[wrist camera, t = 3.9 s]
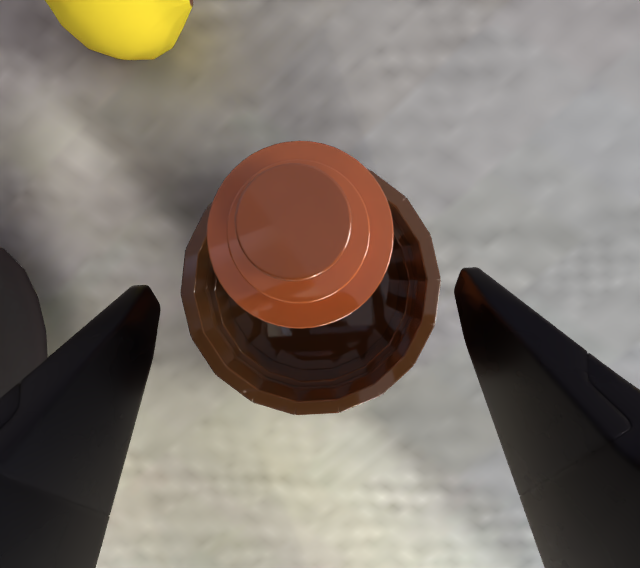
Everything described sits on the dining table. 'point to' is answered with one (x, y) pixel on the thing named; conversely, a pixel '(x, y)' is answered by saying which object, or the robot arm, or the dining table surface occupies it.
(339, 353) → the bowl
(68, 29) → the lemon
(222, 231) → the bottle
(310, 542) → the dining table surface
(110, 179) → the dining table surface
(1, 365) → the casserole
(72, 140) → the dining table surface
